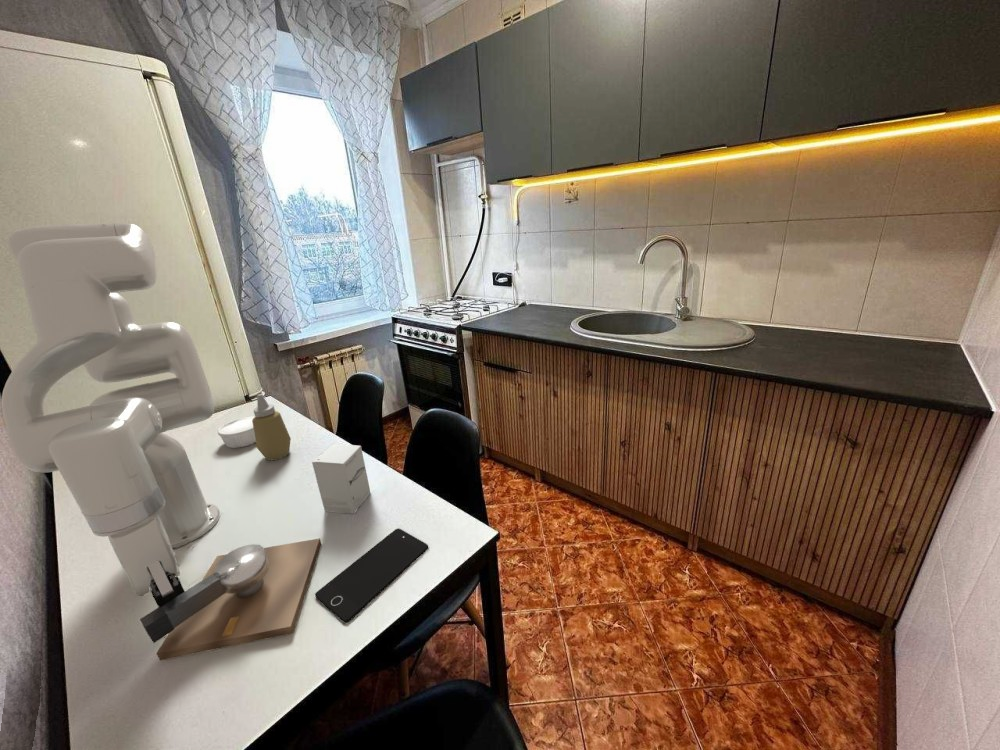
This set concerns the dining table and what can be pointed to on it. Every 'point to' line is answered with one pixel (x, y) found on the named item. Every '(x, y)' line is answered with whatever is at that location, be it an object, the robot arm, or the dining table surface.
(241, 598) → the post base
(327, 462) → the supplement box
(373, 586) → the cell phone
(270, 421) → the squeeze bottle
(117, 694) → the dining table surface
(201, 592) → the square-handled spoon
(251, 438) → the ramekin
